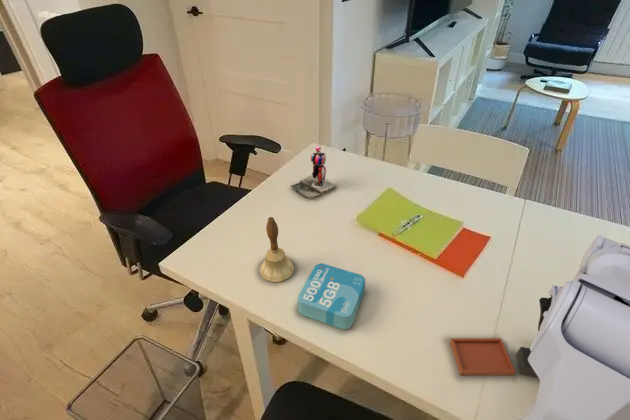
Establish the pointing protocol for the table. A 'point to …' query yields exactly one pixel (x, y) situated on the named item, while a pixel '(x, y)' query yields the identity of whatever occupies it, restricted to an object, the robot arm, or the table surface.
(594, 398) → the robot arm
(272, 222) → the hand bell
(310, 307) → the data package
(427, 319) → the table surface
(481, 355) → the dish
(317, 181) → the statue
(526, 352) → the remote
